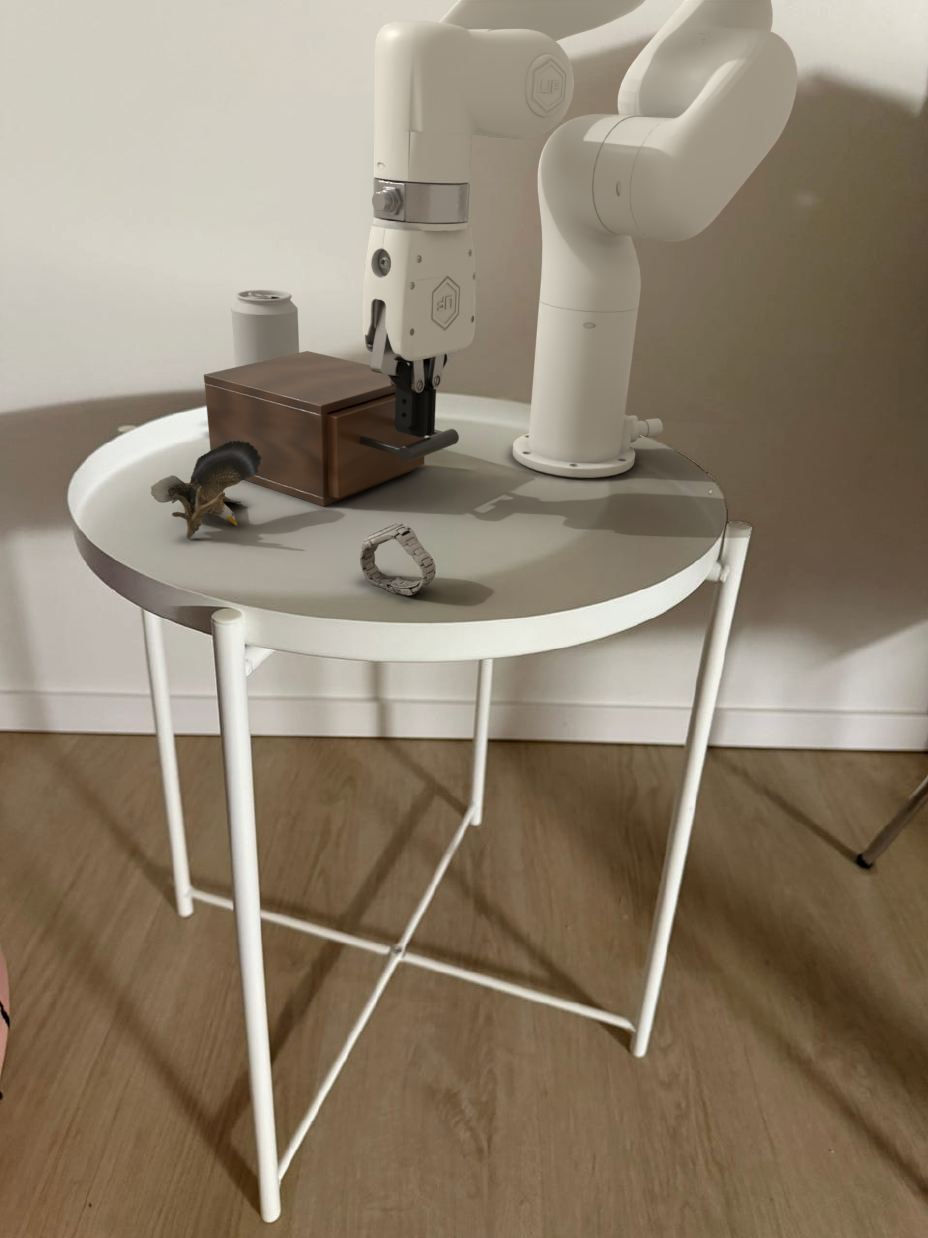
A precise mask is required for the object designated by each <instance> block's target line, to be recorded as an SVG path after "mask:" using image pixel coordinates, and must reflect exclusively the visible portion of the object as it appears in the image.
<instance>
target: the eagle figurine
mask: <svg viewBox="0 0 928 1238" xmlns="http://www.w3.org/2000/svg"><path fill="white" fill-rule="evenodd" d="M260 460H261V456H260V455H258V451H257V449H255V448H254V446H253V445H250V443H249V442H244V441H241V442H240V441H239V440H238V441H229V442H225V443H224V444H222V445H221V446H218V447H217V448H215V449H213V450H210V449H209V451H208V452H206V453H204V454H202V455H200V456H199V457H198V458H197V459H196V461H195V465H194V468H193V471H192V474H191V476H190V481H189V482H185V481H183V480H181V479H180V478H179V477H177V476H176V475H171V474H170V475H169V476H166V477H163V478H161V479H159V480H158V481H156V482H154V483H153V484H152V485H151V486H150V494H151V496H152V497H153V498H154V500H155V501H156V502H158V503H161V504H162V503H163V504H164V503H169V502H171V504H174V503H176V502H177V501H179V502H180V503H181V504H182V506H183V509H184V512H180V511H173V512H172V513H171V516H172V517H173V518H174V517H175V518H181V519H184V520H186V527H187V529H186V538H187V540H191V538H192V537H193V536H194V535H195V533H196V532H197V531H198V530H200V527H201V526H202V521H203V518H204V516H205V514H210V515H213V516H218V517H220V518H222V519H223V520H226V521H228V522H230V523H231V524H233V525H234V526H235V527H236V526H237V525H238V523H237V520H236V518H235V517H236V515H235V513H234V511H232V509H230V507H229V506H227V505H226V503H233V504H234V503H235V504H242V501H239V500H234V499H231V498H228V497H227V496H226V492H225V489H227V488H230V487H234V486H235V485H238V484H239V483H240V482H242V481H246V480H245V479H248V478H250V477H252V476H254V475H255V474H256V473H257V472H258V469H257V468H258V467H259V466H260Z"/></svg>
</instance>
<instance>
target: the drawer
mask: <svg viewBox="0 0 928 1238" xmlns="http://www.w3.org/2000/svg"><path fill="white" fill-rule="evenodd" d="M395 395H396V392H395V393H392V394H388V395H385V396H382V397H378V398H375V399H372V400H368V401H365V402H362V403H358V404H355V405H352V406H349V407H345V408H342V409H339V410H335V411H332V412H329V413H327V415H326V416H327V455H328V494H329V496H332V497H335V498H341V497H343V496H346V495H348V494H351V493H353V492H356V491H358V490H361V489H363V488H366V487H368V486H371V485H373V484H376V483H378V482H381V481H383V480H386V479H388V478H390V477H393V476H395V475H398V474H400V473H403V472H405V471H408V470H410V469H413V468H415V467H418V468H419V467H420V466H423V465H425V456H428V455H431V454H433V453H436V452H438V451H440V450H443V449H445V448H448V447H451V446H454V445H456V444H458V442H459V439H460V435H459V433H458V430H456V429H454V428H449V429H446V430H443V431H442V430H438V429H435V431H434V433H433V434H430V435H426V436H424V437H421V438H420V437H416V436H413V435H409V434H405V433H402V432H398V431H397V430H396V429H395Z"/></svg>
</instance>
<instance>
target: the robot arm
mask: <svg viewBox="0 0 928 1238" xmlns="http://www.w3.org/2000/svg"><path fill="white" fill-rule="evenodd" d="M645 2H646V0H457V1H456V2H455V3H454V4H453V5H452V6H451V7H450V8H449V10H448V11H447V12H446V13H445V14H443V16H442V17H441V19H440V20H439V21H427V20H397V21H390V22H388V23H386V24H385V25H383V26H382V27H380V29H379V30H378V32H377V34H376V37H375V42H374V64H373V65H374V67H373V68H374V69H373V70H374V73H373V74H374V75H373V76H374V78H373V79H374V83H373V84H374V85H373V87H374V89H373V92H374V94H373V95H374V97H373V98H374V99H373V119H374V120H373V195H372V198H371V203H372V207H373V209H372V211H373V212H372V215H373V217H372V219H373V221H372V222H373V223H372V224H371V227H370V232H369V237H368V243H367V251H366V257H365V258H366V259H365V265H364V266H365V267H364V277H363V291H362V293H363V294H362V337H363V343H364V347H365V348H366V350H367V351H369V352H371V357H370V363H369V365H370V369H371V371H373V372H377V373H381V374H387V375H388V376H389V377H390V380H391V385H392V386H393V387H396V395H395V429H396V430H397V431H398V432H402V433H405V434H409V435H413V436H416V437H420V438H421V437H424V436H425V437H427V436H426V435H430V434H433V433H434V431H435V430H436V406H437V405H436V403H437V388H439V387H440V386H441V384H442V383H441V382H442V377H443V369H444V368H445V366H446V364H447V363H448V362H450V361H451V360H452V359H454V358H456V357H457V356H458V355H459V353H460V351H462V350H464V349H466V348H468V347H469V346H470V345H471V344H472V343H473V341H474V339H475V333H476V332H475V331H476V311H477V310H476V309H477V279H476V277H477V276H476V275H477V274H476V254H475V246H474V245H475V244H474V236H473V232H472V231H473V230H472V225H470V224H469V221H468V220H469V207H470V187H471V184H470V183H471V169H472V167H471V166H472V150H473V149H472V147H473V136H482V137H489V138H495V139H496V138H497V139H508V140H509V139H510V140H527V139H532V138H536V137H540V136H542V135H544V134H546V133H547V132H550V131H551V130H552V129H553V128H555V127H556V126H558V124H559V123H560V122H561V121H562V120H563V118H564V117H565V115H566V114H567V112H568V110H569V108H570V106H571V103H572V100H573V97H574V89H575V75H574V70H573V66H572V63H571V61H570V58H569V56H568V54H567V53H566V52H565V50H564V48H563V47H562V46H561V45H560V44H559V43H558V41H560V40H563V39H566V38H568V37H571V36H575V35H578V34H582V33H585V32H589V31H591V30H595V29H597V28H599V27H603V26H605V25H607V24H609V23H612V22H613V21H615V20H619V19H620V18H622V17H624V16H626V15H628V14H630V13H632V12H633V11H635V10H637V9H638V8H639V7H640V6H642V5H643V4H644V3H645ZM773 15H774V14H773V4H772V0H683V1H682V3H681V4H680V5H679V6H678V7H677V8H676V10H675V11H674V12H673V13H672V14H671V16H670V17H669V18H668V20H666V22H665V23H664V24H663V25H662V27H661V28H660V29H659V30H658V31H657V32H656V34H655V35H654V36H653V37H652V38H651V39H650V41H649V42H648V43H647V44H646V45H645V47H643V49H642V50H641V52H640V53H639V54H638V55H637V57H636V58H635V59H634V60H633V62H632V63H631V65H630V66H629V68H628V69H627V71H626V73H625V75H624V77H623V79H622V81H621V83H620V86H619V89H618V94H617V110H618V114H615V113H613V114H612V113H594V114H585V115H582V116H577V117H574V118H571V119H570V120H567V121H565V122H564V123H563V124H561V125H560V126H559V127H557V128H556V129H555V130H554V131H553V132H552V134H551V135H550V136H549V137H548V139H547V141H546V143H545V144H544V146H543V149H542V151H541V154H540V158H539V161H538V167H537V196H538V204H539V205H538V206H539V213H540V224H541V225H540V226H541V243H542V244H541V245H542V248H541V250H542V251H541V272H540V273H541V275H540V286H539V287H540V289H539V299H538V312H537V313H538V314H537V325H536V337H535V349H534V365H533V375H532V376H533V377H532V391H531V401H530V415H529V429H528V433H526V434H523V435H521V436H519V437H518V438H516V439H515V440H514V441H513V445H512V457H513V458H514V459H515V461H517V462H518V463H519V464H520V465H523V466H524V467H527V469H531V470H533V471H536V472H540V473H544V474H547V475H553V476H558V477H566V478H578V479H579V478H580V479H591V478H593V479H594V478H606V477H611V476H617V475H619V474H622V473H625V472H627V471H629V470H630V469H631V468H632V467H634V464H635V461H636V460H635V459H636V452H635V450H634V448H633V447H632V446H631V443H635V442H636V441H637V440H638V439H641V438H642V437H641V436H640V435H642V436H644V437H647V438H646V439H649V438H650V439H651V438H659V437H660V436H662V434H663V431H664V426H663V425H664V424H663V421H662V420H661V419H660V418H658V417H657V418H649V419H648V418H647V419H642V420H639V418H638V416H637V415H627V414H626V409H627V402H628V401H627V400H628V393H629V384H630V377H631V369H632V362H633V361H632V360H633V355H634V354H633V352H634V346H635V345H634V344H635V338H636V337H635V336H636V329H637V321H638V313H639V307H640V299H641V289H642V277H641V268H640V263H639V258H638V255H637V251H636V248H635V245H634V242H633V238H638V239H644V240H651V241H655V242H656V241H657V242H668V243H669V242H670V243H678V242H683V241H688V240H689V239H692V238H694V237H696V236H697V235H699V234H700V233H702V232H703V231H704V230H706V229H707V227H709V226H710V225H711V224H712V223H713V222H714V221H715V219H716V218H717V217H718V216H719V215H720V214H721V212H722V211H723V210H724V209H725V207H726V206H727V205H728V204H729V202H730V201H732V199H733V198H734V196H735V195H736V194H737V192H738V191H739V190H740V189H741V187H743V186H744V184H745V183H746V181H747V180H748V179H749V177H750V176H751V175H752V174H753V173H754V171H755V170H756V169H757V167H759V165H760V164H761V162H763V160H764V159H765V157H766V156H767V155H768V154H769V152H770V151H771V150H772V148H773V147H774V146H775V144H776V143H777V141H778V140H779V138H780V136H781V135H782V134H783V132H784V130H785V128H786V125H787V123H788V121H789V119H790V116H791V113H792V110H793V106H794V104H795V99H796V94H797V90H798V89H797V88H798V66H797V61H796V57H795V55H794V53H793V50H792V48H791V47H790V45H789V43H788V42H787V41H786V40H785V39H784V38H783V37H781V36H780V34H777V33H775V32H773V31H772V28H773V20H774V19H773V18H774V16H773ZM632 237H633V238H632ZM642 439H643V438H642Z"/></svg>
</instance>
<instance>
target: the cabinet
mask: <svg viewBox="0 0 928 1238" xmlns="http://www.w3.org/2000/svg"><path fill="white" fill-rule="evenodd" d="M203 383H204V392H205V393H204V394H205V403H206V404H205V405H206V414H207V416H206V417H207V426H208V441H209V451H210V450H213V449H215V448H217V447H218V446H221V445H222V444H224V443H225V442H229V441H238V440H239V441H240V442H241V441H244V442H249V443H250V445H253V446H254V448H255V449H257V451H258V455H260V456H261V460H260V466H259V467H258V468H257V469H258V472H257V473H256V474H255V475H254V476H252V477H250V478H248V479H245V480H244V481H247V482H250V483H253V484H256V485H259V486H261V487H265V488H267V489H270V490H273V491H277V492H279V493H282V494H286V495H288V496H292V497H294V498H298V499H300V500H303V501H306V502H309V503H311V504H315V505H318V506H321V507H326V506H329V505H331V504H334V503H337V502H338V501H341V500H343V499H346V498H349V497H351V496H353V495H356V494H358V493H361V492H364V491H366V490H368V489H371V488H373V487H375V486H378V485H380V484H383V483H386V482H389V481H391V480H393V479H396V478H398V477H400V476H403V475H406V474H407V473H410V472H413V471H415V470H418V469H419V466H418V467H415V468H413V469H410V470H408V471H405V472H403V473H400V474H398V475H395V476H393V477H390V478H388V479H386V480H383V481H381V482H378V483H376V484H373V485H371V486H368V487H366V488H363V489H361V490H358V491H356V492H353V493H351V494H348V495H346V496H343V497H341V498H335V497H332V496H329V494H328V455H327V416H326V415H327V413H329V412H332V411H335V410H339V409H342V408H345V407H349V406H352V405H355V404H358V403H362V402H365V401H368V400H372V399H375V398H378V397H382V396H385V395H388V394H392V393H395V392H396V387H393V386H392V385H391V380H390V377H389V376H388V375H387V374H381V373H377V372H373V371H371V369H370V364H366V363H362V362H357V361H352V360H348V359H344V358H340V357H336V356H331V355H326V354H323V353H318V352H313V351H310V350H305V351H301V352H299V353H296V354H292V355H287V356H283V357H279V358H274V359H270V360H266V361H261V362H257V363H252V364H248V365H244V366H239V367H235V366H234V367H230V368H226V369H222V370H218V371H213V372H209V373H204V374H203Z"/></svg>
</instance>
